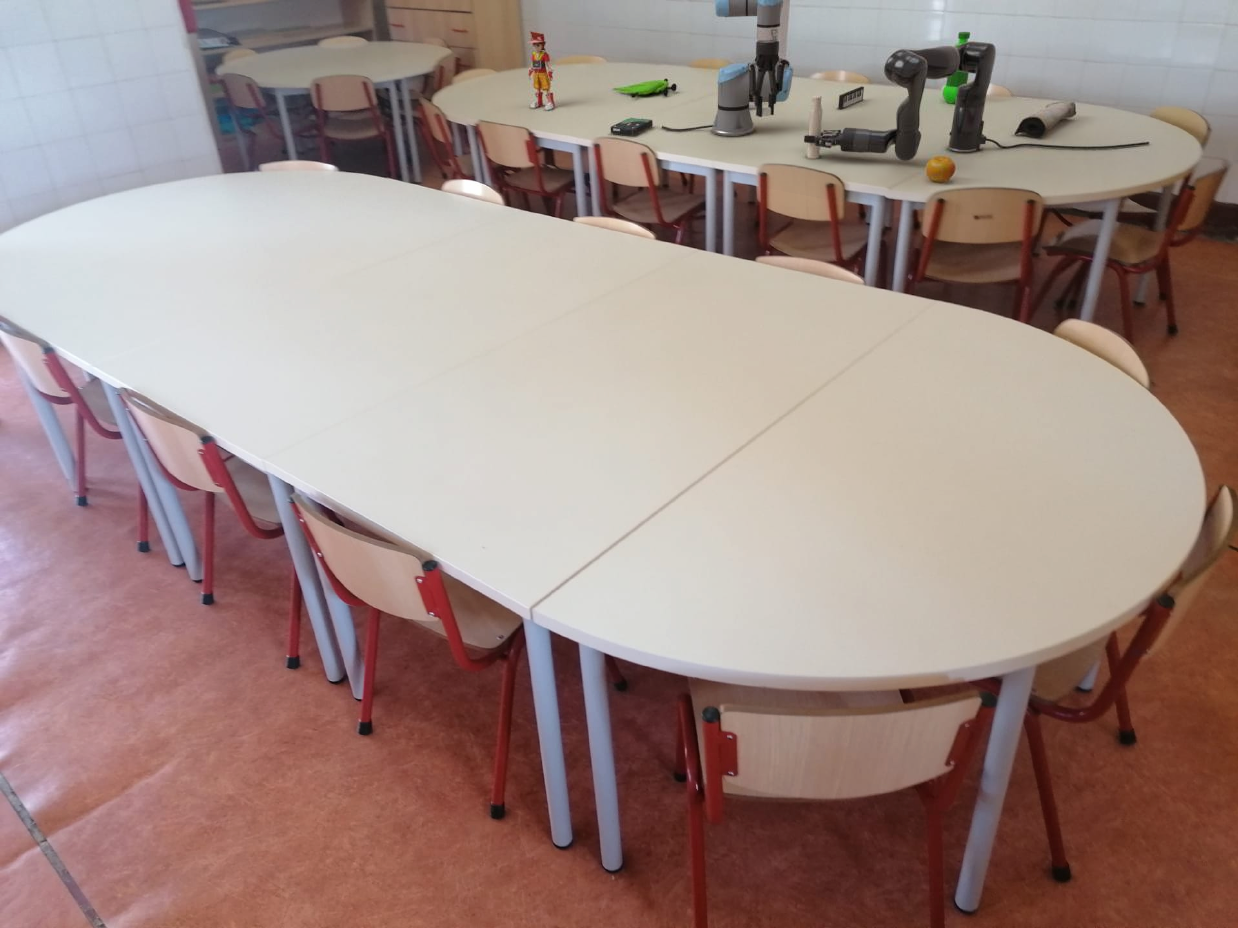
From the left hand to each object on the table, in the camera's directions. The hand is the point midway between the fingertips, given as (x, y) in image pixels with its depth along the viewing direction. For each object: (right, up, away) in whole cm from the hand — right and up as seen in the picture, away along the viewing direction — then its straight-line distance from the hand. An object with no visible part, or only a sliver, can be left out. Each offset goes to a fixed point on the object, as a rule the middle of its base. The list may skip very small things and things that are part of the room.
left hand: (764, 115), depth 306 cm
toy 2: (-40, +46, +91) cm, 109 cm away
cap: (0, +2, -1) cm, 2 cm away
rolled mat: (+102, +1, +13) cm, 103 cm away
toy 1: (-83, +33, +77) cm, 117 cm away
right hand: (+14, -9, -4) cm, 17 cm away
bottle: (+16, -15, -1) cm, 22 cm away
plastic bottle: (+83, +24, +49) cm, 99 cm away
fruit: (+50, -31, -28) cm, 65 cm away
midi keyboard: (+43, +25, +54) cm, 74 cm away
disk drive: (-45, +9, +39) cm, 60 cm away
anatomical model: (+2, +28, +61) cm, 67 cm away
